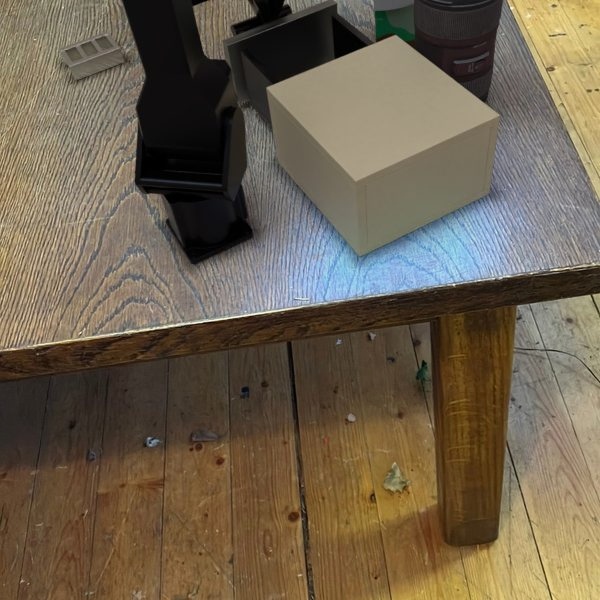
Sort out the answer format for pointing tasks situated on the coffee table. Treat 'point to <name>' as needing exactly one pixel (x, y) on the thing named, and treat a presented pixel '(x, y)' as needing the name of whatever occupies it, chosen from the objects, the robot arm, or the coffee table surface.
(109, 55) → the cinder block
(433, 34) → the camera lens
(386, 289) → the coffee table surface
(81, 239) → the coffee table surface
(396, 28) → the food container
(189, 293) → the coffee table surface
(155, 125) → the robot arm
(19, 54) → the coffee table surface
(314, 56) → the dark open box
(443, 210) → the tan cardboard box
